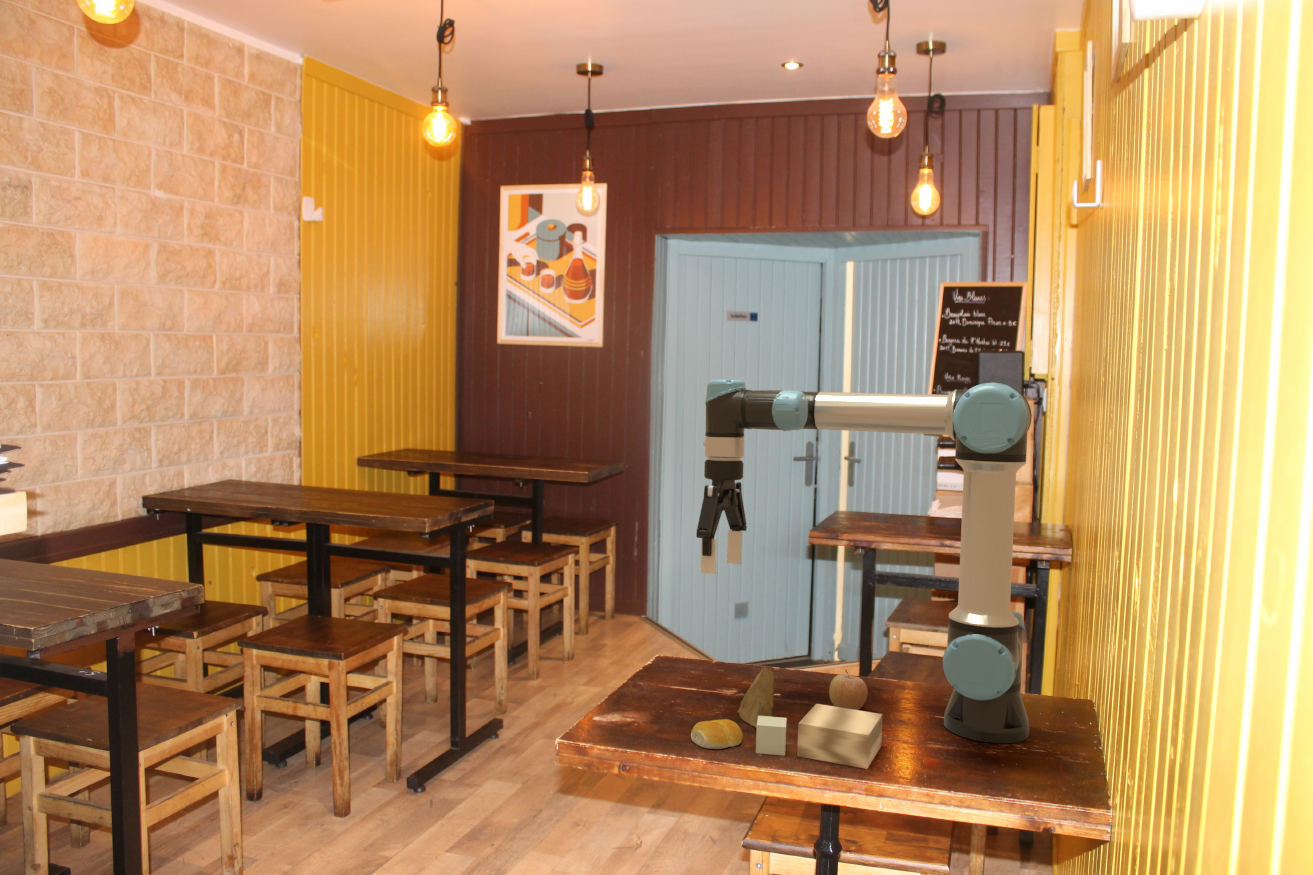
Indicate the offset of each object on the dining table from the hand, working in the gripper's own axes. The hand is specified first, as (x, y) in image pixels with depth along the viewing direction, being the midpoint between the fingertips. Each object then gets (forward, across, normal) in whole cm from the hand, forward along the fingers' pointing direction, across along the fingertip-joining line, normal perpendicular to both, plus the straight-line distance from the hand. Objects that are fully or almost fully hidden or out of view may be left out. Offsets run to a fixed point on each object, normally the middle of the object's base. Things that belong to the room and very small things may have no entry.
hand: (721, 568), depth 188 cm
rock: (+28, +3, +9) cm, 30 cm away
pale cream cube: (+28, +15, +16) cm, 36 cm away
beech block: (+29, +10, +27) cm, 40 cm away
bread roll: (+29, +16, +6) cm, 33 cm away
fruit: (+28, -13, +22) cm, 38 cm away
